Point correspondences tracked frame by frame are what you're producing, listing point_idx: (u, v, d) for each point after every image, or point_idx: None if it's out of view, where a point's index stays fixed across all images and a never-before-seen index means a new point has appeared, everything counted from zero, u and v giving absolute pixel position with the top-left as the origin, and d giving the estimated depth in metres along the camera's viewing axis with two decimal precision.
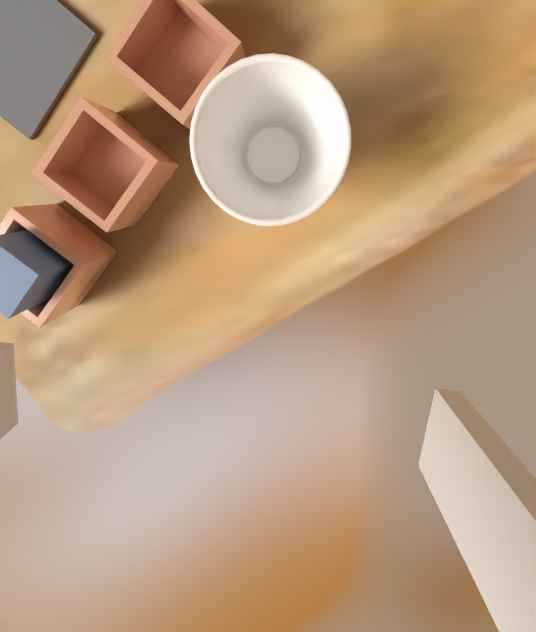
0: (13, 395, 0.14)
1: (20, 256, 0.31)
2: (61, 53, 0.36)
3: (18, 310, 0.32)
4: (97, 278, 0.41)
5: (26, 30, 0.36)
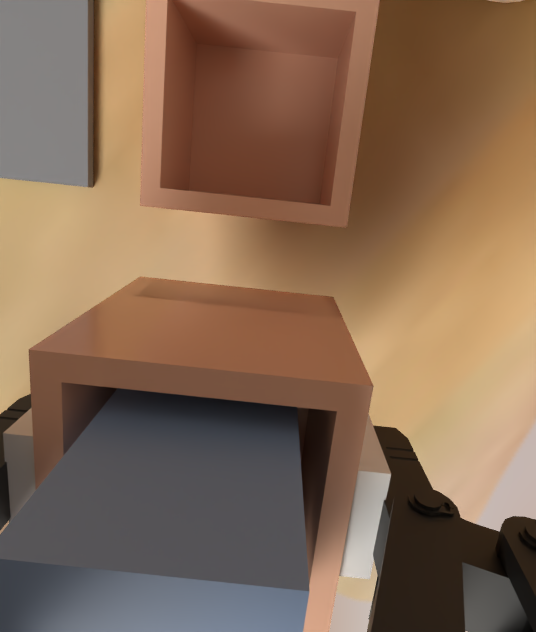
0: None
1: (168, 537, 0.06)
2: (55, 3, 0.19)
3: None
4: None
5: None
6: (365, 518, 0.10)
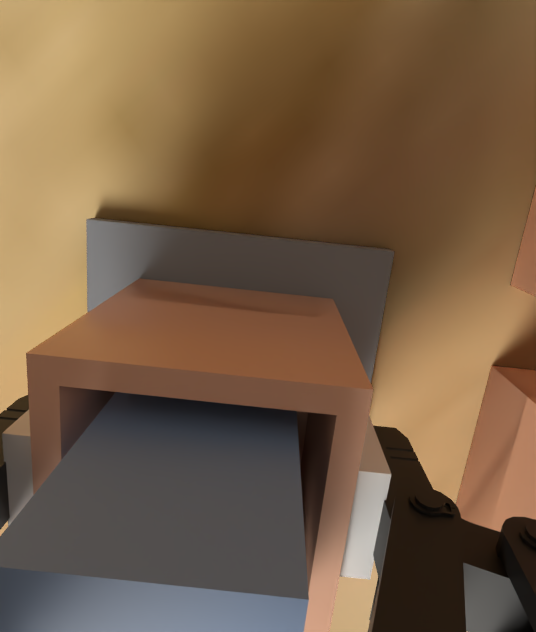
0: None
1: (166, 544, 0.06)
2: None
3: None
4: None
5: None
6: (365, 518, 0.10)
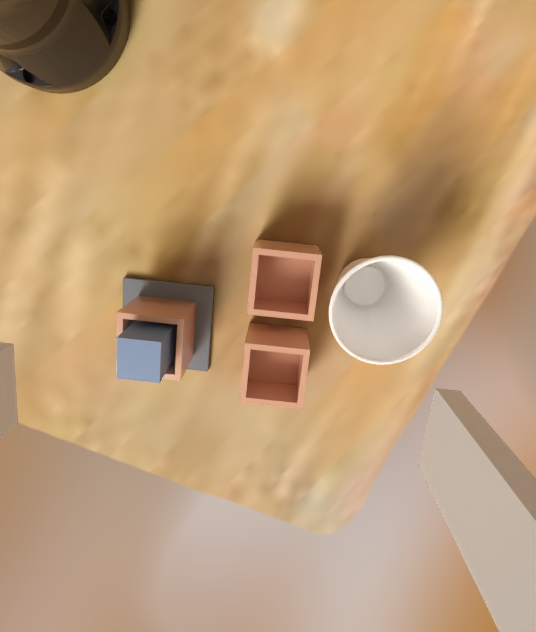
0: (13, 395, 0.14)
1: (142, 337, 0.42)
2: (199, 311, 0.51)
3: (161, 374, 0.43)
4: (194, 328, 0.51)
5: None
6: None
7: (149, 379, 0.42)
